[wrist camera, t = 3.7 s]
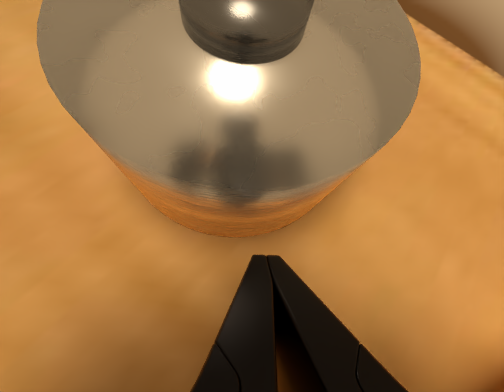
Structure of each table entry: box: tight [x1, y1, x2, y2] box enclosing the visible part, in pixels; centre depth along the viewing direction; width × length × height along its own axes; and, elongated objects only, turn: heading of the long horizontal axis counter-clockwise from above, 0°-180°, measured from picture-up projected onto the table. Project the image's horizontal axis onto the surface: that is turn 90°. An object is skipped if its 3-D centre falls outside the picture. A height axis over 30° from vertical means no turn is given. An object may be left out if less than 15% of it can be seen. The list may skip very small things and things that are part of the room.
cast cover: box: [37, 0, 421, 237], centre depth 13 cm, size 15×15×9 cm
